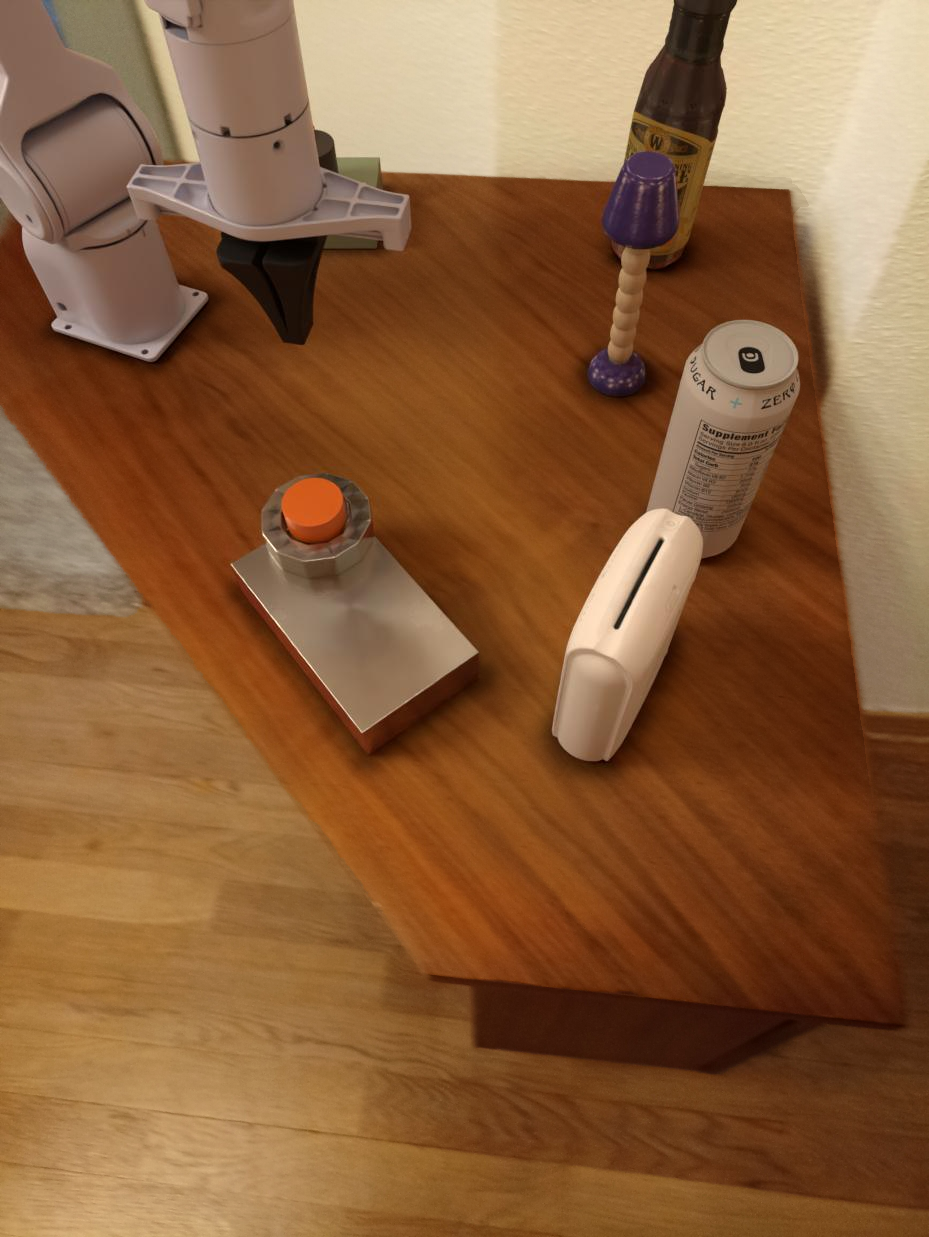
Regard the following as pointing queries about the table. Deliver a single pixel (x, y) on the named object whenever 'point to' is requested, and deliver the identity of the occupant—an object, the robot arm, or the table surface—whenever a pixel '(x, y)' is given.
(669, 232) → the toy lamp
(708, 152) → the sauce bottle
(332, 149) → the knob
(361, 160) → the panel
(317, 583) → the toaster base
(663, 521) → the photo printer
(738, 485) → the energy drink can
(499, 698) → the table surface
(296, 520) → the button
